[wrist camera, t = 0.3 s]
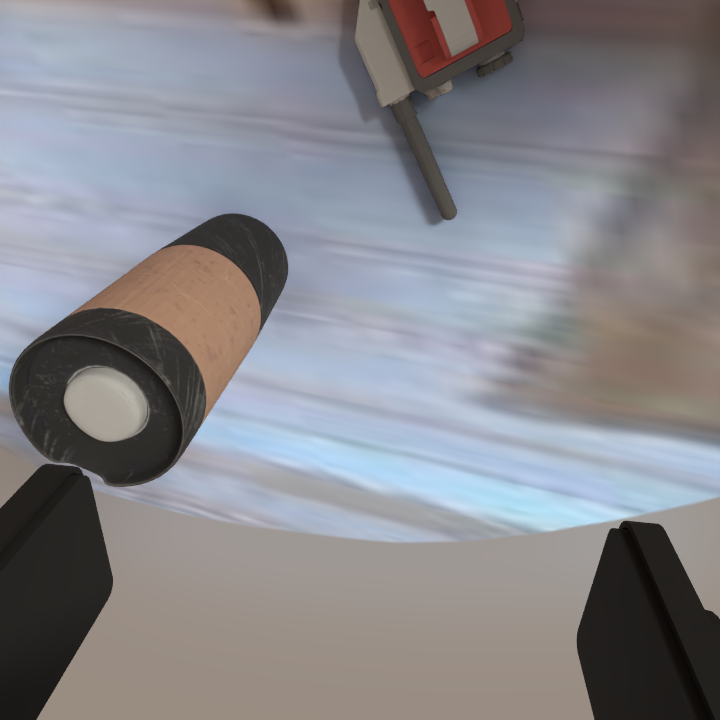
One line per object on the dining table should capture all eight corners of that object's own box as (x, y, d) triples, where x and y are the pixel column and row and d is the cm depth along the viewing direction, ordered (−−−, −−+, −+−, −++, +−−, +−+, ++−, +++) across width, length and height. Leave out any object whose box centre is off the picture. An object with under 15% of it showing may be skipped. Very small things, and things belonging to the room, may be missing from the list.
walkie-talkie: (286, -111, 31) (436, 221, 39) (266, -136, 27) (436, 239, 35) (436, -217, 29) (565, 160, 36) (437, -261, 25) (582, 173, 32)
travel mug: (266, 193, 39) (129, 306, 21) (308, 296, 42) (220, 470, 24) (168, 228, 40) (-34, 358, 23) (215, 324, 44) (69, 504, 26)
